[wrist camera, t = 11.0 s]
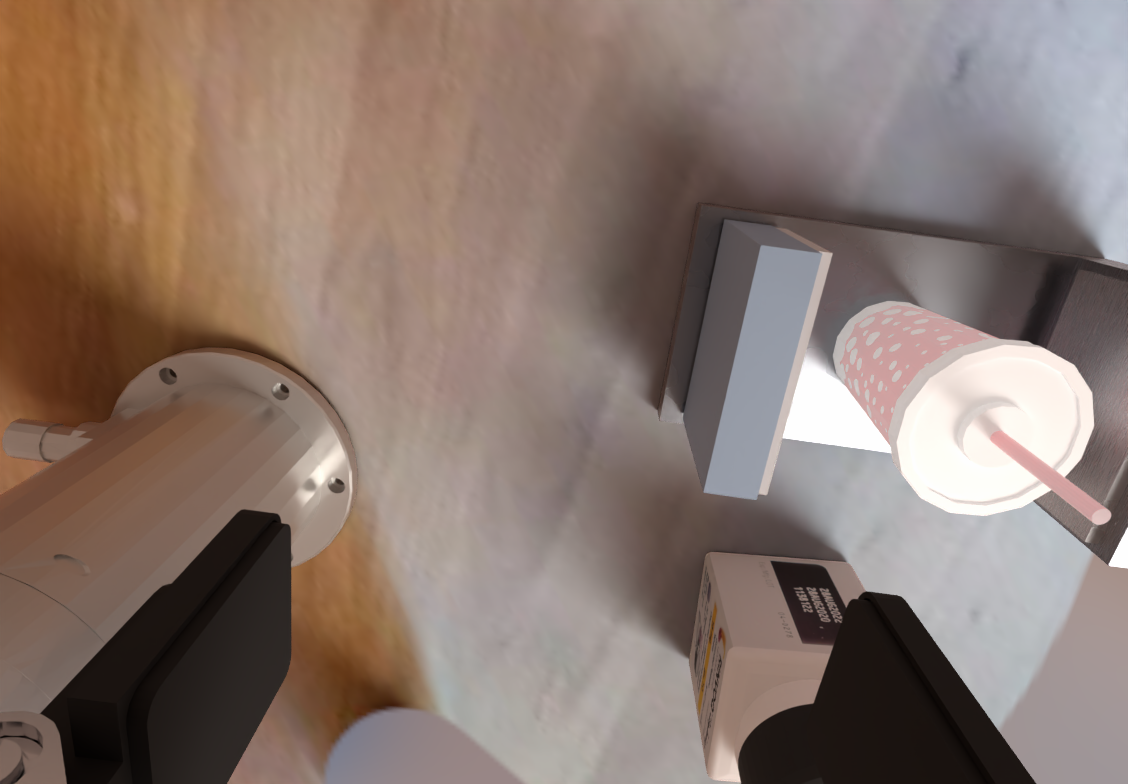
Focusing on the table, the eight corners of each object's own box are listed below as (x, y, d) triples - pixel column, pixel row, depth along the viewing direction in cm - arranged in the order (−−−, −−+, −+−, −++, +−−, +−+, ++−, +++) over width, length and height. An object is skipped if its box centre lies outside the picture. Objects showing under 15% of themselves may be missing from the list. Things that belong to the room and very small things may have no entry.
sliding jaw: (682, 418, 32) (703, 492, 25) (724, 219, 28) (760, 245, 22) (735, 425, 32) (770, 501, 25) (783, 227, 28) (837, 255, 22)
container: (704, 548, 36) (756, 759, 24) (851, 559, 36) (979, 778, 24) (687, 662, 39) (725, 903, 27) (823, 673, 38) (924, 922, 26)
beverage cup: (975, 376, 30) (1255, 560, 17) (844, 434, 32) (1015, 645, 19) (930, 257, 29) (1205, 362, 16) (794, 324, 30) (943, 472, 17)
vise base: (657, 410, 33) (676, 505, 25) (698, 202, 30) (735, 230, 21) (1020, 461, 33) (1162, 573, 25) (1105, 258, 30) (1306, 308, 21)
